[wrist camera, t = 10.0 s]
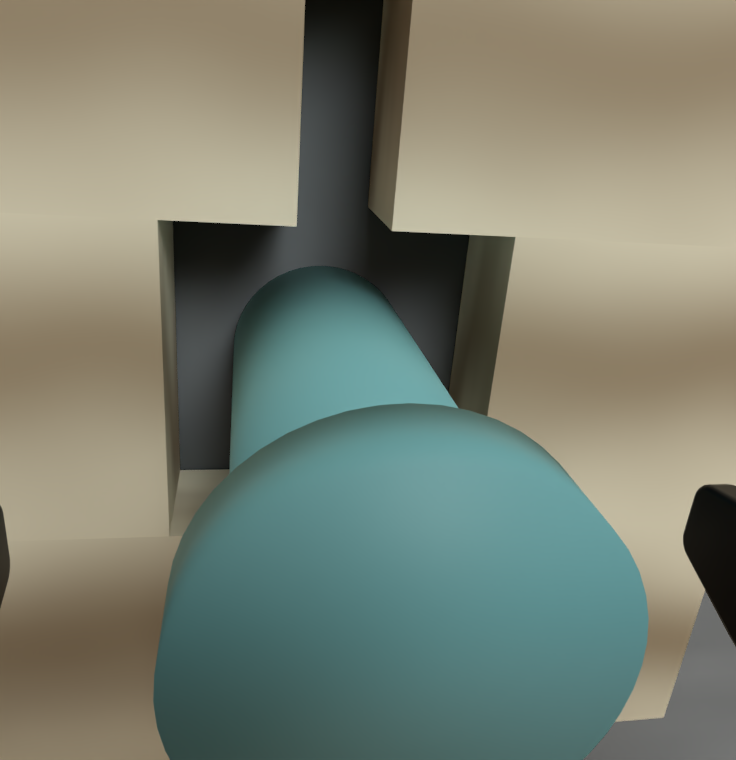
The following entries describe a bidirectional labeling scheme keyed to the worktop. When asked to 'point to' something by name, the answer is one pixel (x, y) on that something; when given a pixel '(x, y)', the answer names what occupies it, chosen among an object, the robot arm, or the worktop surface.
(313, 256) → the worktop surface
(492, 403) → the keyhole board
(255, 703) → the peg
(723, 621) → the robot arm
